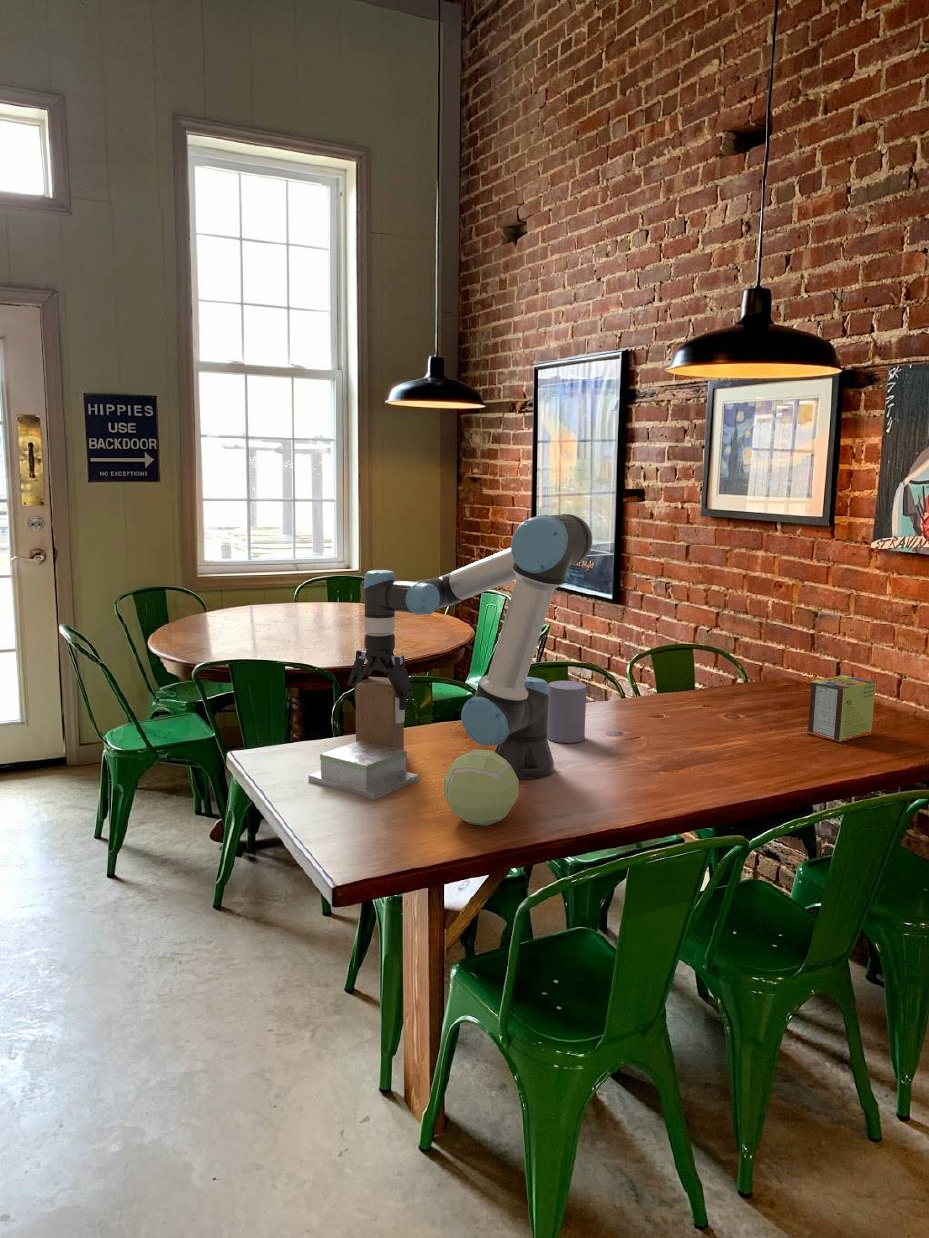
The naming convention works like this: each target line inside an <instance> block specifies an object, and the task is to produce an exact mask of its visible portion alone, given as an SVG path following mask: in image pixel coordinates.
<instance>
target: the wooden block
mask: <svg viewBox="0 0 929 1238" xmlns="http://www.w3.org/2000/svg"><path fill="white" fill-rule="evenodd" d="M397 696H398V695H397V693H396V691H395V687H394V686H393V685H392V684H391V682H390V680H389V679H388V677H381V676H369V677H368V678H366V679H364V680H363V681H361V682H360V683H359V684H357V685H356V701H355V742H357V741H360V740H363V741H367V742H371V743H375V744H380V745H384V746H388V747H392V748H396V749H400V750H404V751H405V748H404V747H405V746H404V745H405V742H404V741H405V737H404V736H405V735H404V734H405V730H404V729H405V727H404V725H405V724H404V723H405V721H404V722H401V723H398V724H397V723H395V697H397Z"/></svg>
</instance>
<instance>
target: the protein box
mask: <svg viewBox="0 0 929 1238" xmlns="http://www.w3.org/2000/svg"><path fill="white" fill-rule="evenodd" d="M876 684H877V683H876V681H873V680H868V679H865V678H859V677H854V676H849V675H844V674H840V675H838V676H831V677H827V678H821V679H817V680H811V681H810V693H809V694H810V695H809V707H808V721H807V724H808V725H807V732H808V731H809V732H814V733H817V734H820V735H823V736H826V737H829V738H832V739H836V740H839V741H841V740H843V739H846V738H851V737H853V736H856V735H860V734H862V733H865V732H871V731H872V732H873V730H872V728H873V722H874V719H873V718H874V708H875V697H876V686H877V685H876ZM872 732H871V733H872Z"/></svg>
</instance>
